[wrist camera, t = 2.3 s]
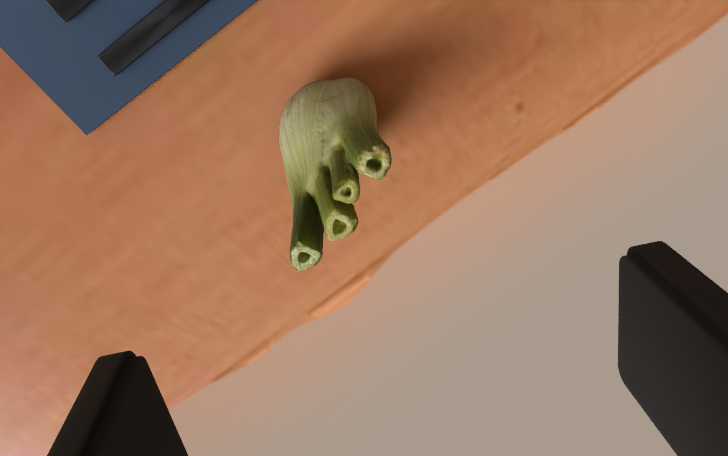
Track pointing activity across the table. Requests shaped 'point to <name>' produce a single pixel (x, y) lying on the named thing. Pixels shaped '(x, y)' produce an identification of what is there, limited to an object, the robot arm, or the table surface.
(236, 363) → the table surface
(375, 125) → the fennel bulb
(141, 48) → the cutlery
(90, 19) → the napkin
